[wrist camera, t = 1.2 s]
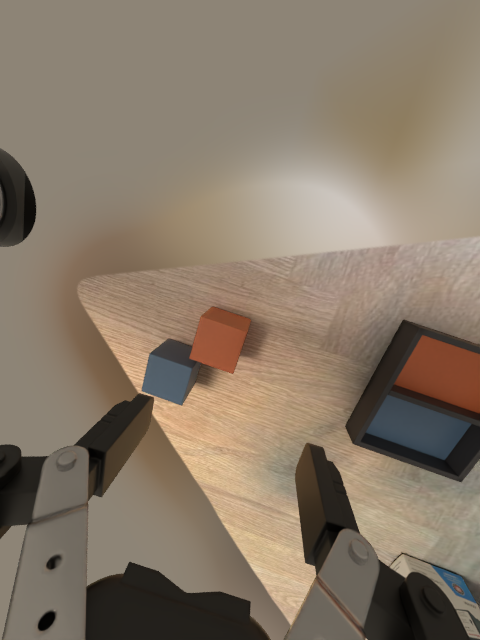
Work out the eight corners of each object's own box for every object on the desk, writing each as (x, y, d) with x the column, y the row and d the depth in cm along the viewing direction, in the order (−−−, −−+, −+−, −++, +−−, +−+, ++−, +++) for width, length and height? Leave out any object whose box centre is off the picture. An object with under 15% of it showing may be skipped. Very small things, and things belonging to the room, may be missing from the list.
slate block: (160, 370, 29) (141, 391, 25) (168, 338, 28) (149, 353, 23) (195, 383, 29) (181, 405, 25) (204, 350, 28) (192, 368, 23)
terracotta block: (201, 342, 27) (188, 358, 23) (212, 306, 26) (200, 316, 22) (239, 355, 27) (233, 374, 23) (251, 319, 26) (247, 332, 22)
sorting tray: (344, 426, 28) (352, 444, 25) (403, 319, 24) (419, 327, 21) (442, 460, 28) (461, 482, 25) (518, 357, 24) (550, 370, 21)
